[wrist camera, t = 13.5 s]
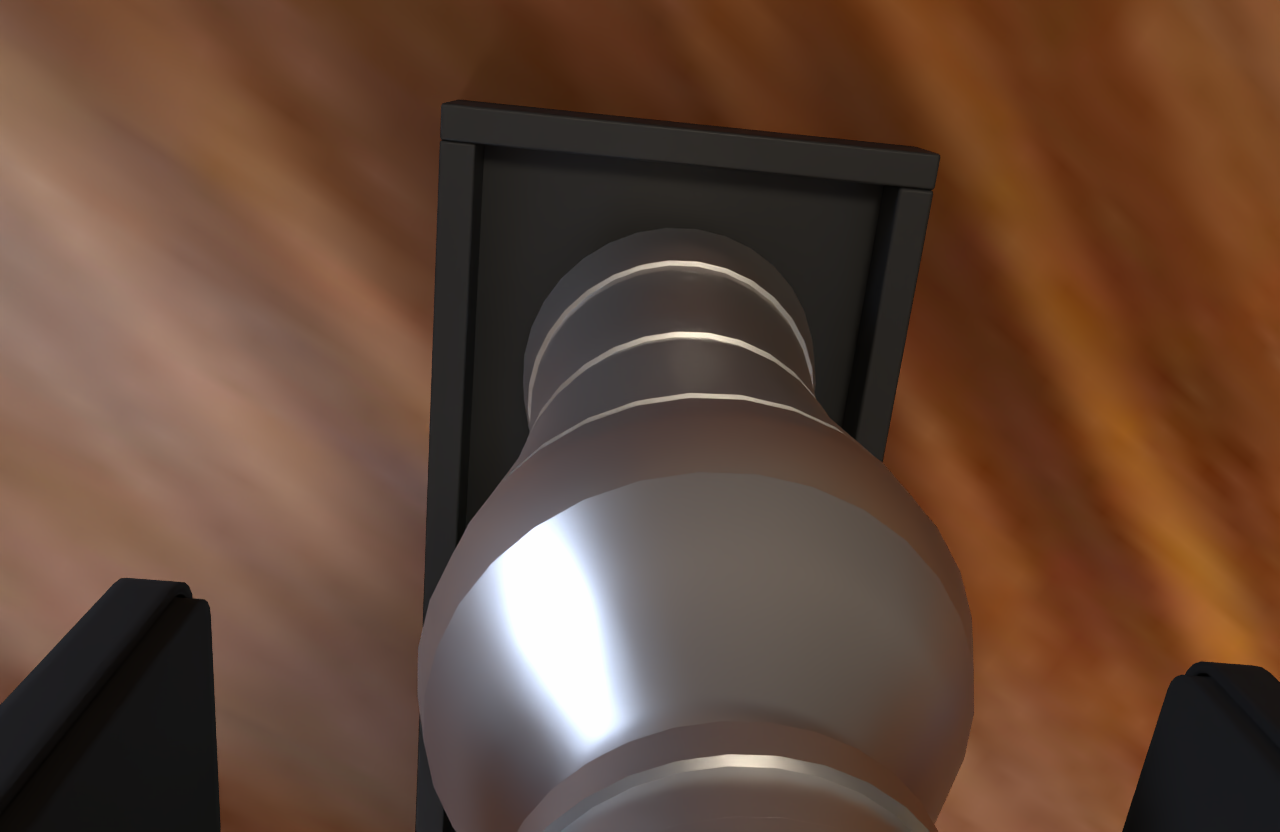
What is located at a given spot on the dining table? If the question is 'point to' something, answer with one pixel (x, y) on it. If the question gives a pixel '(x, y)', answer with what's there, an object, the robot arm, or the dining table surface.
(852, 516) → the silver metal bottle
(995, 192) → the dining table surface
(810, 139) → the tray
